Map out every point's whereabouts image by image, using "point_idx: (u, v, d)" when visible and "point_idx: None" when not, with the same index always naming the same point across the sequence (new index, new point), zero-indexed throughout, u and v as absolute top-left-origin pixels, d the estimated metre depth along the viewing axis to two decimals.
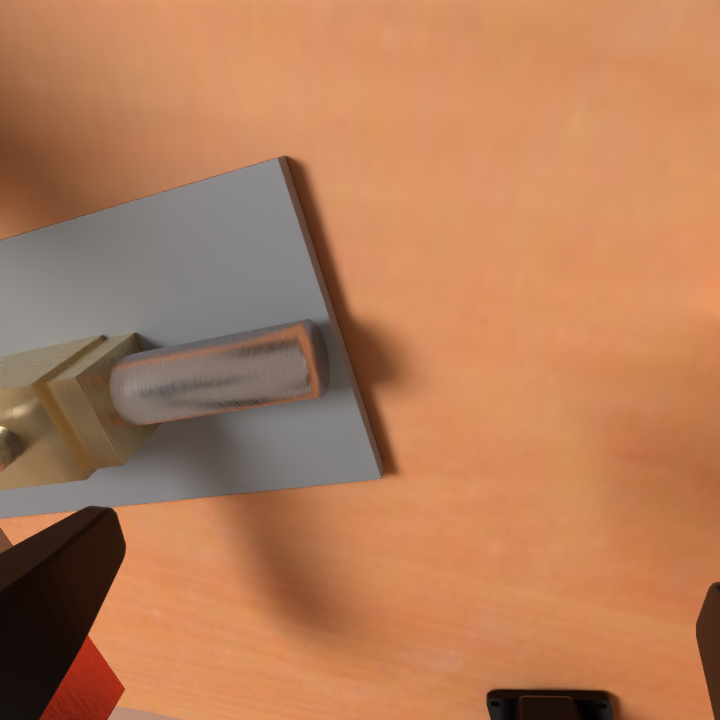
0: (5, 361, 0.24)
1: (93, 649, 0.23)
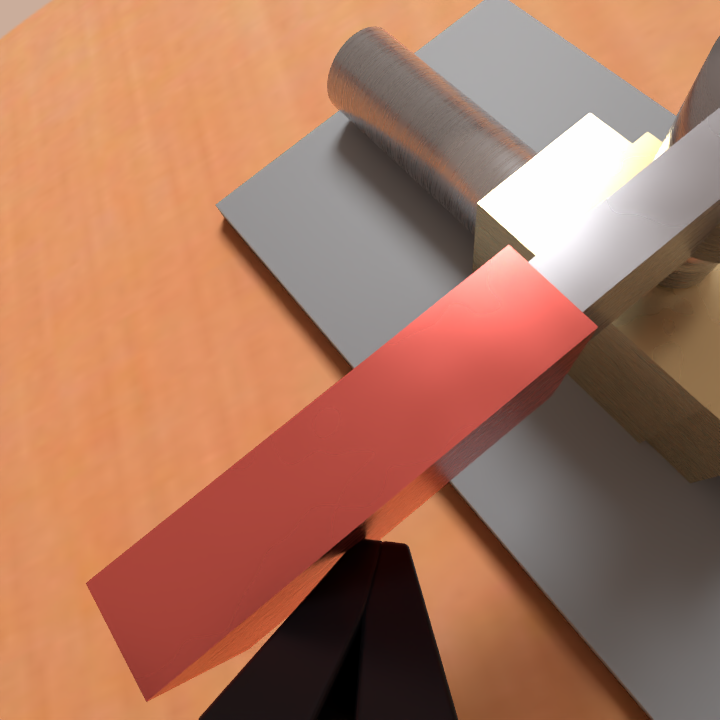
0: None
1: None
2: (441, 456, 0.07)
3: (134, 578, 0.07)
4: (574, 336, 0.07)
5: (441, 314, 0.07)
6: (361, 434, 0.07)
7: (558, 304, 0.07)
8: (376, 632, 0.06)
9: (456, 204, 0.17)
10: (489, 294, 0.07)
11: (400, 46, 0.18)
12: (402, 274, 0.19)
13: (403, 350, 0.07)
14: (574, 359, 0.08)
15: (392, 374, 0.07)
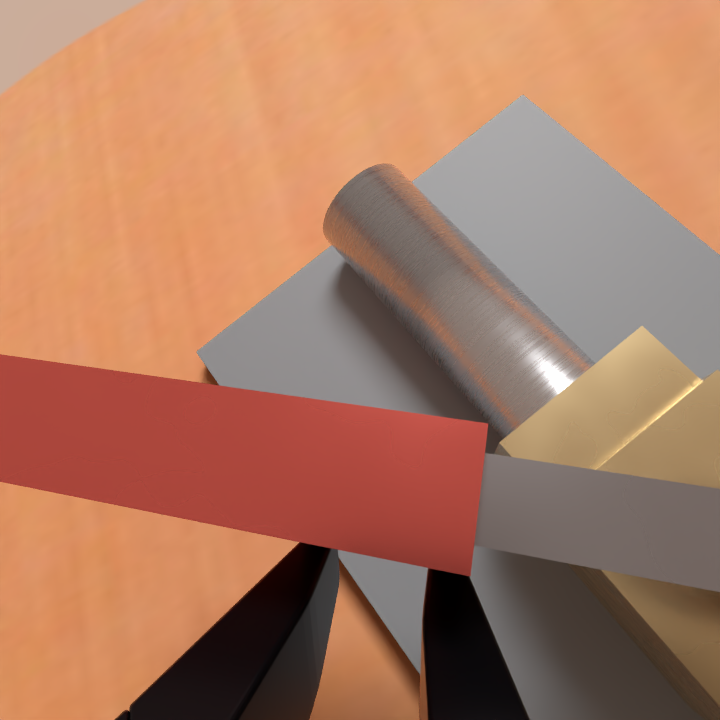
0: None
1: None
2: (241, 529, 0.06)
3: None
4: (441, 560, 0.06)
5: (367, 421, 0.06)
6: (210, 447, 0.07)
7: (464, 519, 0.06)
8: (440, 642, 0.06)
9: (473, 397, 0.14)
10: (421, 447, 0.06)
11: (409, 192, 0.15)
12: None
13: (308, 418, 0.06)
14: None
15: (280, 427, 0.06)
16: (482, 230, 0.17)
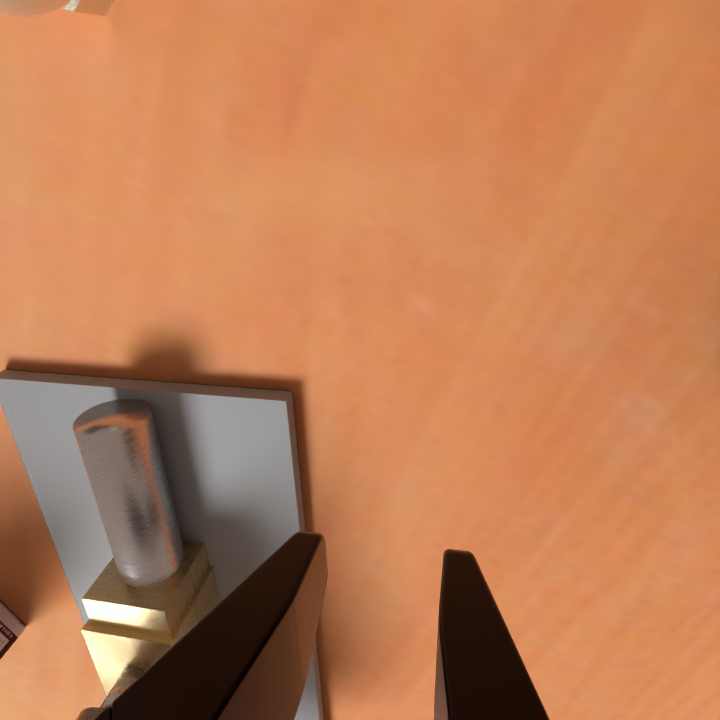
0: None
1: None
2: None
3: None
4: None
5: None
6: None
7: None
8: (458, 645, 0.06)
9: None
10: None
11: None
12: None
13: None
14: None
15: None
16: None
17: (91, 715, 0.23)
